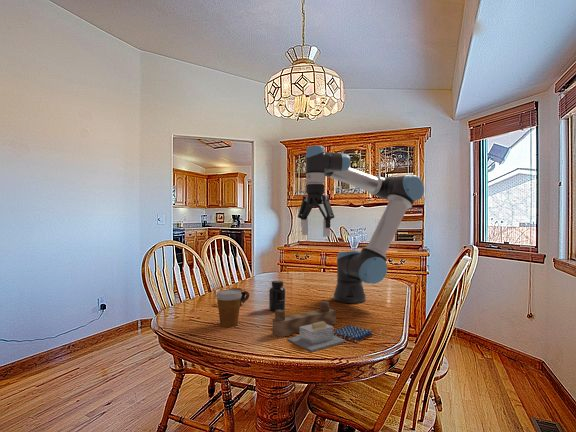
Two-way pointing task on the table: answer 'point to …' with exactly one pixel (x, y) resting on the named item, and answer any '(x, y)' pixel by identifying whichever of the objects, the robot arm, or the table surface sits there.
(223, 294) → the disposable coffee cup
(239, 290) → the pottery mug
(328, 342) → the pad
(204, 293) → the table surface
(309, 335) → the light grey block
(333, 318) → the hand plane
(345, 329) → the woven mat
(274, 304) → the supplement bottle
